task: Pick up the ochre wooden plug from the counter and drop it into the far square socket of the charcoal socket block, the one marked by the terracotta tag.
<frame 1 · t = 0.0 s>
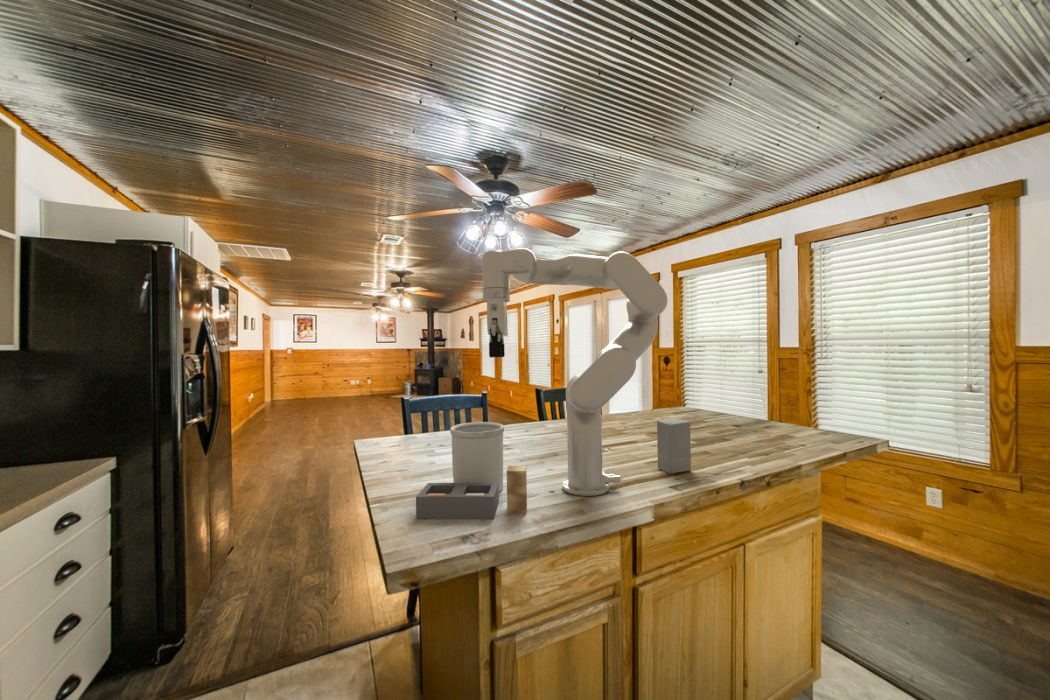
hand: (497, 357, 110), 37 cm above the table, tool pointing down, fingers open, 9 cm apart
socket block: (459, 510, 95), on the table
plug: (517, 510, 95), on the table
utensil holder: (478, 490, 110), on the table
skincare box: (674, 470, 125), on the table
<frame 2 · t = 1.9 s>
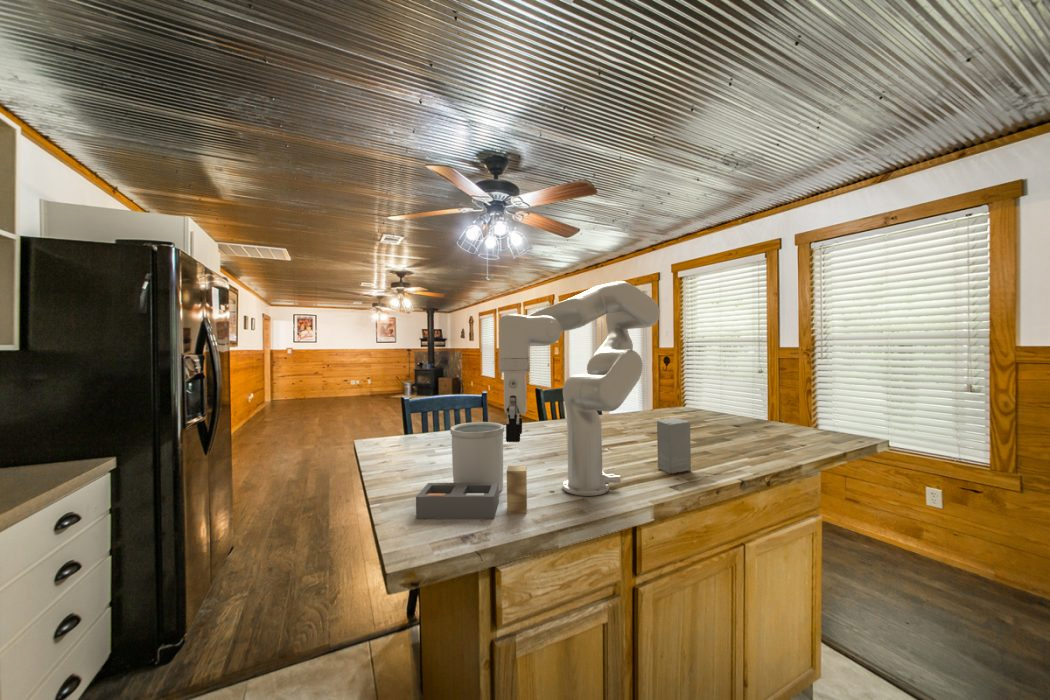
hand: (514, 437, 95), 17 cm above the table, tool pointing down, fingers open, 9 cm apart
nothing on the table moved.
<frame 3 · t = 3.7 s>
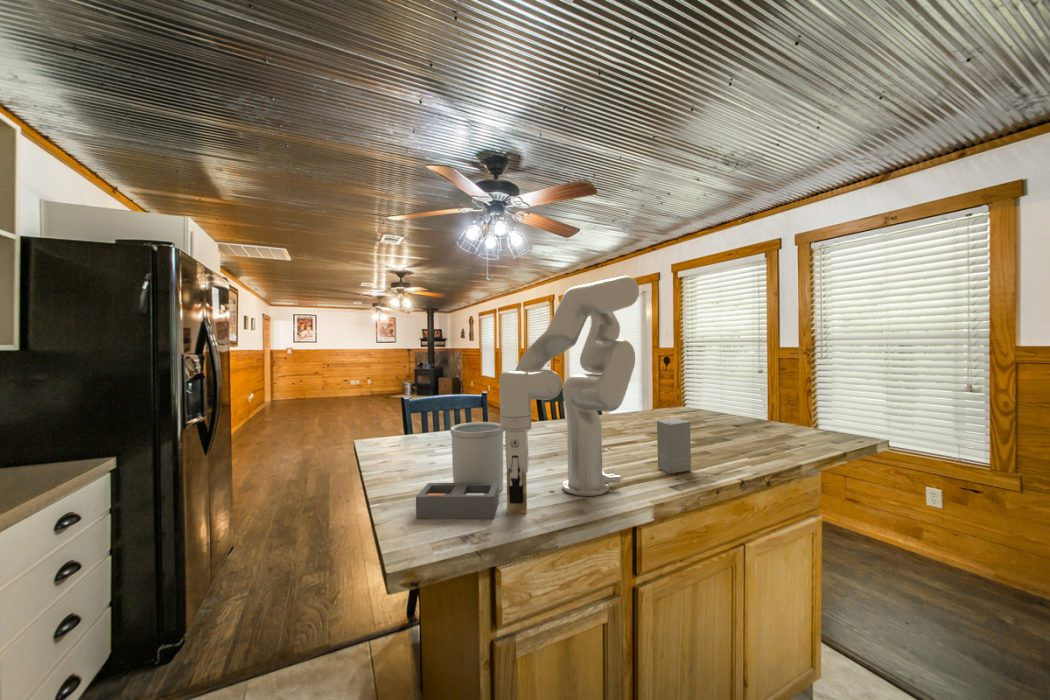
hand: (517, 498, 95), 3 cm above the table, tool pointing down, fingers closed on plug, 4 cm apart
plug: (517, 510, 95), on the table, touching gripper
everything else where it was.
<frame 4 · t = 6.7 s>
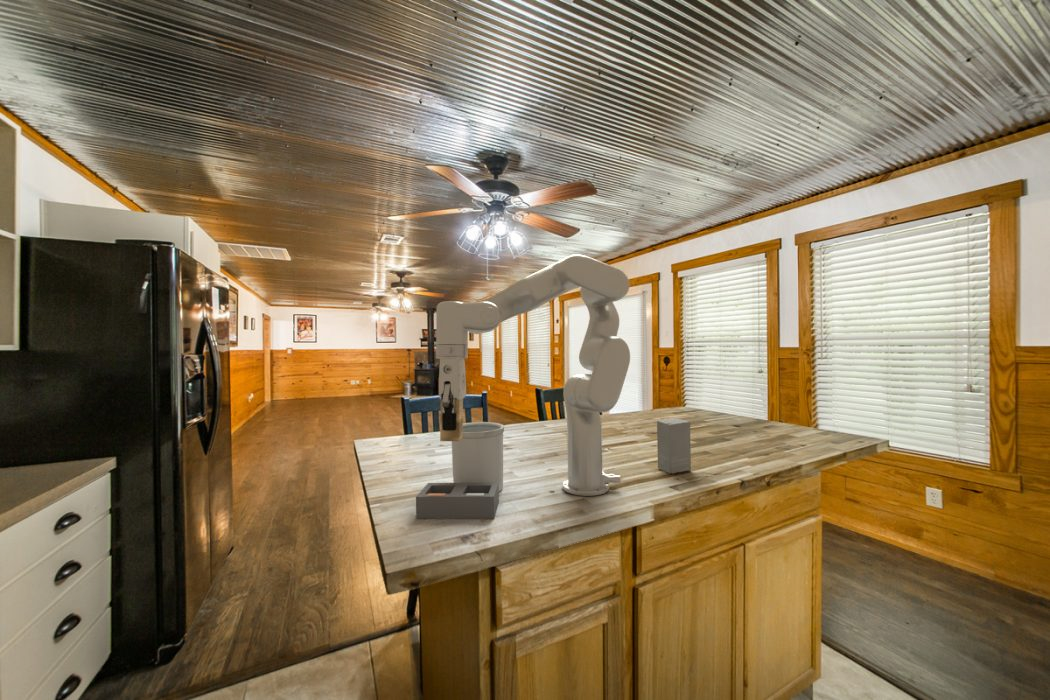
hand: (451, 427, 95), 20 cm above the table, tool pointing down, fingers closed on plug, 4 cm apart
plug: (451, 439, 95), point 17 cm above the table, touching gripper
everything else where it was.
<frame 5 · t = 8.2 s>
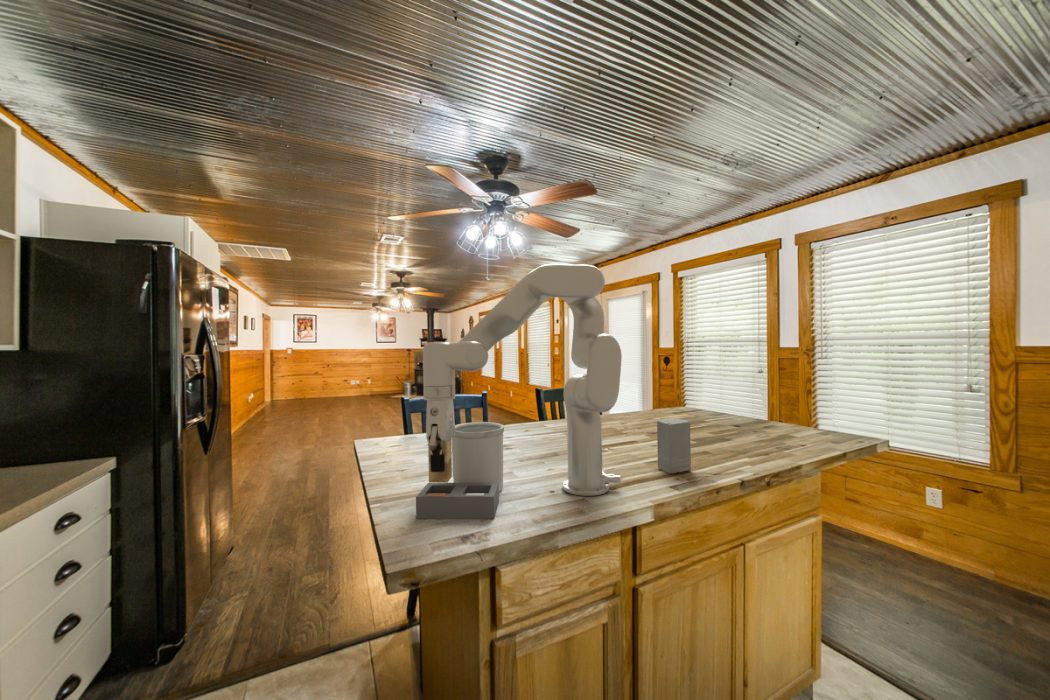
hand: (440, 467, 96), 10 cm above the table, tool pointing down, fingers closed on plug, 4 cm apart
plug: (440, 479, 96), point 7 cm above the table, touching gripper
everything else where it was.
when the fingers open (6 cm above the table, at t = 9.5 s): plug drops 3 cm, resting in socket block.
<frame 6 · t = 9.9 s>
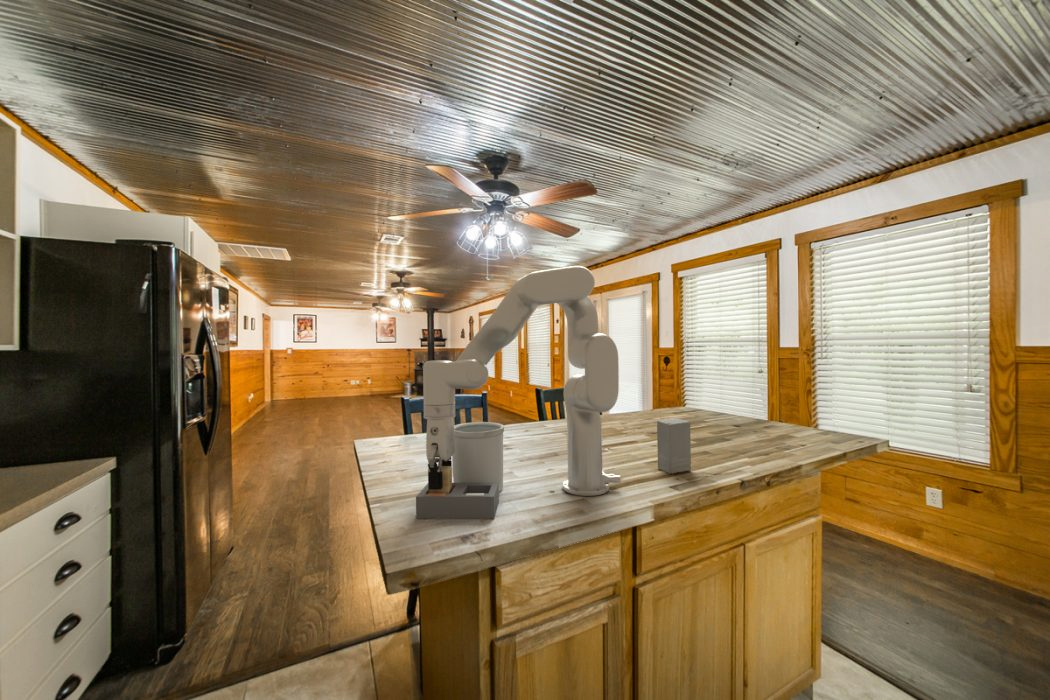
hand: (440, 482, 96), 7 cm above the table, tool pointing down, fingers open, 9 cm apart
plug: (441, 510, 95), resting in socket block
everything else where it was.
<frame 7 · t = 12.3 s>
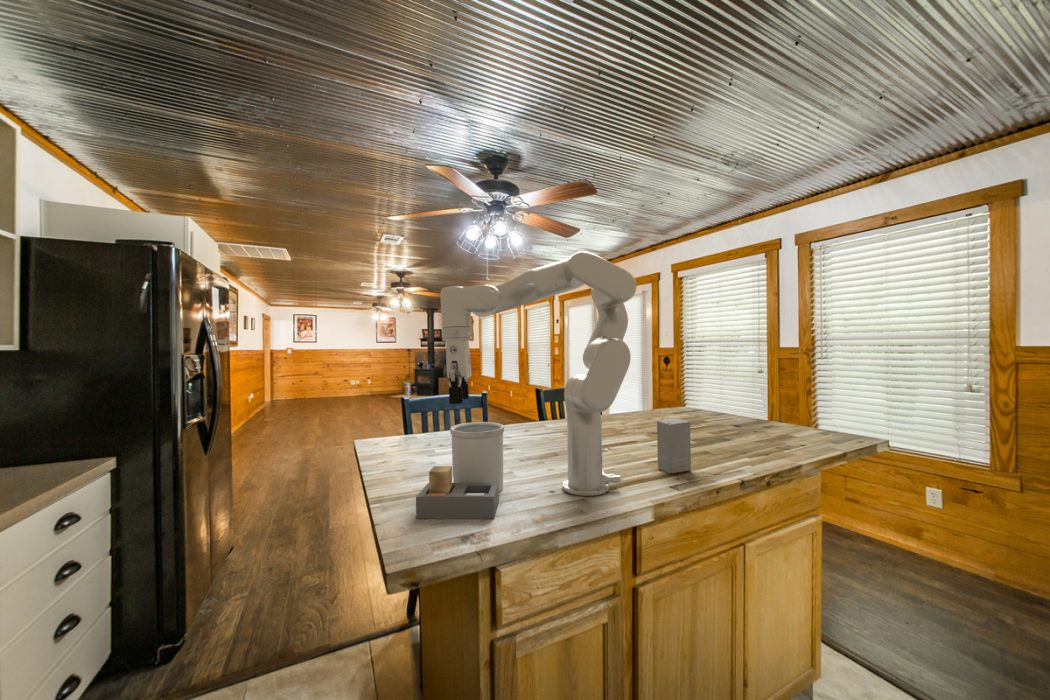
hand: (459, 401, 102), 26 cm above the table, tool pointing down, fingers open, 9 cm apart
nothing on the table moved.
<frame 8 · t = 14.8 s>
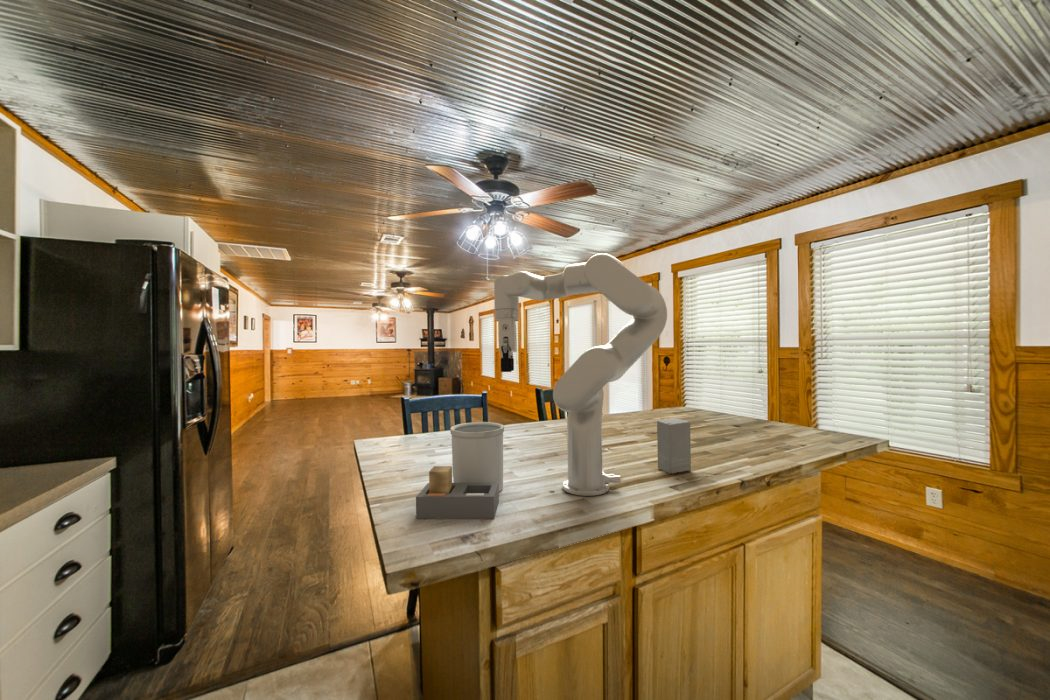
hand: (507, 371, 122), 32 cm above the table, tool pointing down, fingers open, 9 cm apart
nothing on the table moved.
at the end: plug 0.1 cm from the target spot on the socket block, point 0.0 cm above the socket block's base; plug tilted 0°; the gripper is holding nothing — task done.
